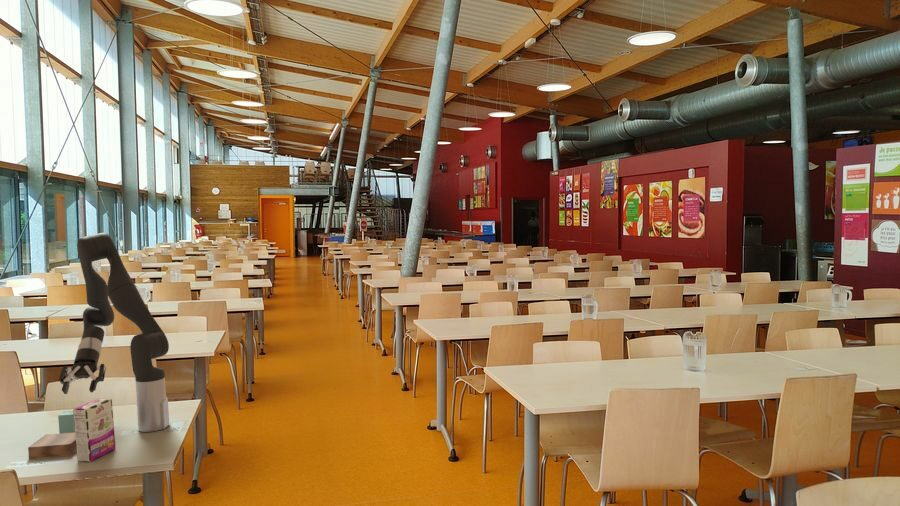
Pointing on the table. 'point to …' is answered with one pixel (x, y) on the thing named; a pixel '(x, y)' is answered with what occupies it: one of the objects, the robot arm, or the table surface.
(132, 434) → the table surface
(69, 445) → the walnut block
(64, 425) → the teal pillar block
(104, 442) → the candy bar box
